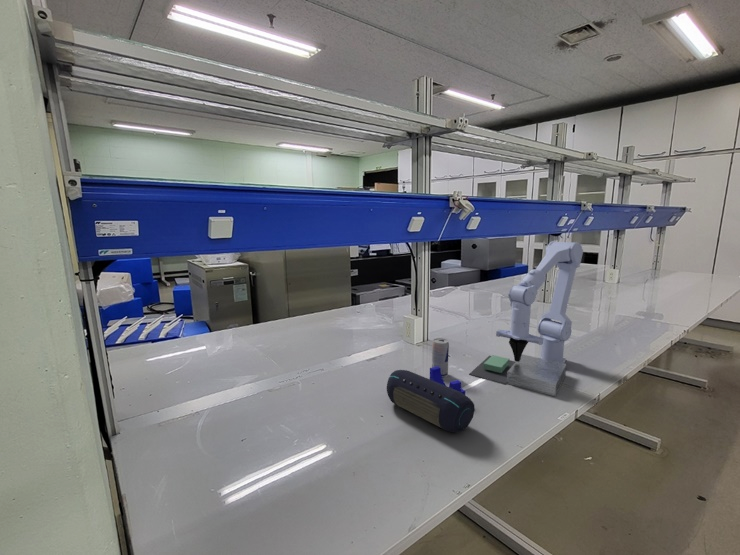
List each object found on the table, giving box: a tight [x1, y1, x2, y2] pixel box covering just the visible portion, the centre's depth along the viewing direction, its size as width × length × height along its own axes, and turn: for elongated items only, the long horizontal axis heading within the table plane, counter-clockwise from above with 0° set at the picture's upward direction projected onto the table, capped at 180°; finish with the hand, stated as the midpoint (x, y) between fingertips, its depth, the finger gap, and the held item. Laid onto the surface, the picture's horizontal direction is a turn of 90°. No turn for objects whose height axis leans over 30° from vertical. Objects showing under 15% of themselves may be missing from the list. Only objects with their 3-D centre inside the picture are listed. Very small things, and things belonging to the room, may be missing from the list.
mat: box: [468, 355, 516, 385], centre depth 123 cm, size 20×12×1 cm, turn 142°
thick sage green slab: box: [483, 354, 510, 373], centre depth 123 cm, size 9×6×3 cm, turn 142°
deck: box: [506, 353, 567, 397], centre depth 115 cm, size 18×14×4 cm
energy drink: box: [431, 338, 450, 379], centre depth 118 cm, size 5×5×12 cm
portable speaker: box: [386, 369, 476, 433], centre depth 93 cm, size 25×10×10 cm, turn 43°
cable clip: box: [429, 366, 466, 395], centre depth 106 cm, size 12×4×6 cm, turn 23°
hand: (517, 360), depth 118 cm, fingers closed
